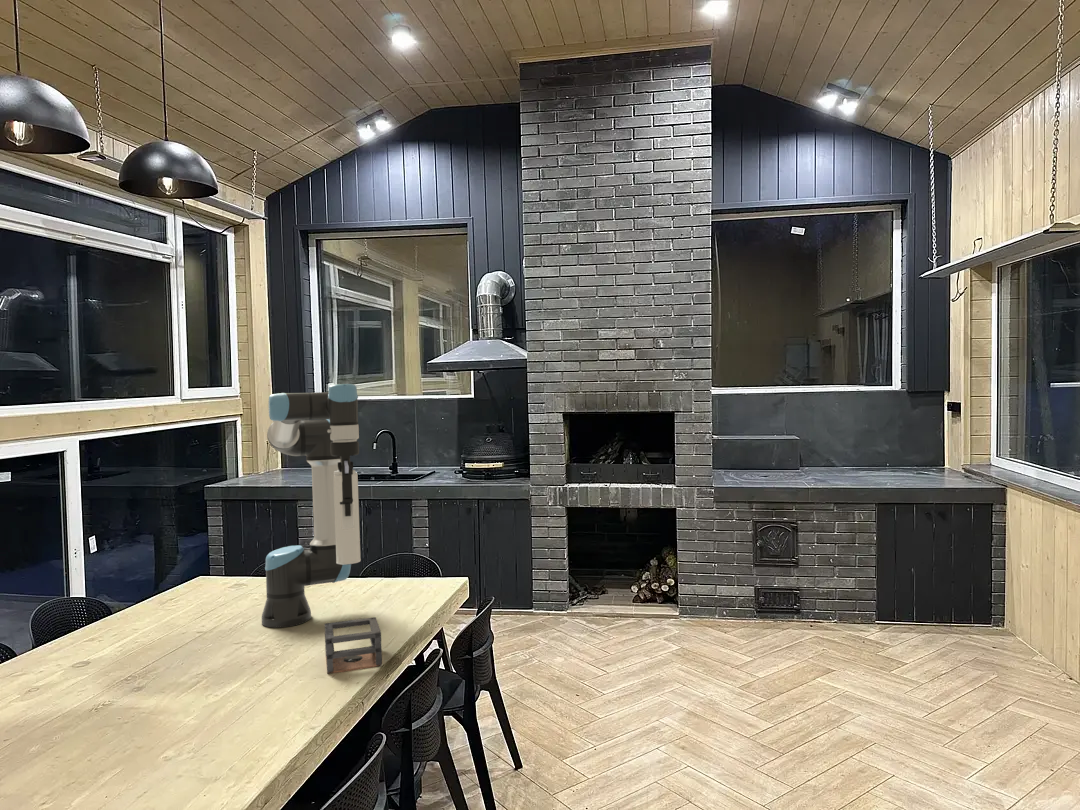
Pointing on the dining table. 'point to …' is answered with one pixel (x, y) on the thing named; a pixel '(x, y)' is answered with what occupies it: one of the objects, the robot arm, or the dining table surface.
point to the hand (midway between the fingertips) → (347, 525)
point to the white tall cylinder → (344, 537)
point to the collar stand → (353, 657)
